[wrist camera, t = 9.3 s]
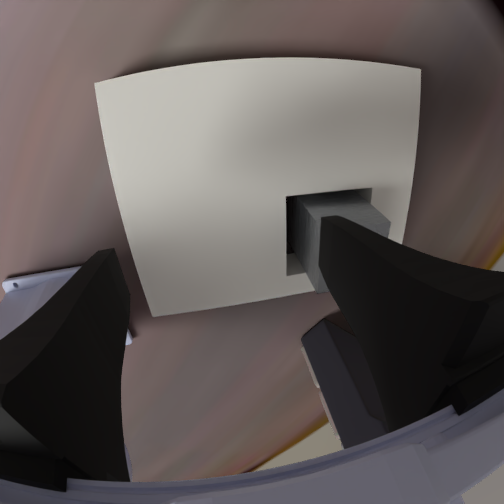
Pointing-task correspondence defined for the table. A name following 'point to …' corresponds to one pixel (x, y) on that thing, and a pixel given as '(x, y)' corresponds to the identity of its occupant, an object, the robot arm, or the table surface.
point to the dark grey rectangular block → (344, 384)
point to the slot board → (249, 166)
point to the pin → (309, 222)
